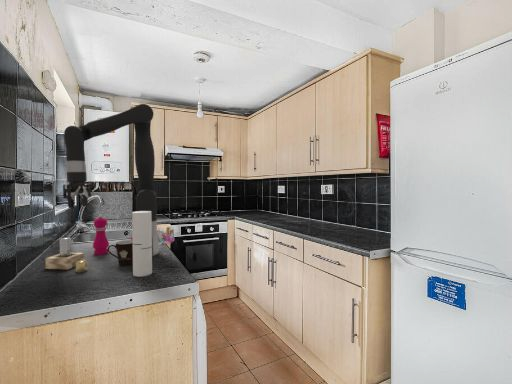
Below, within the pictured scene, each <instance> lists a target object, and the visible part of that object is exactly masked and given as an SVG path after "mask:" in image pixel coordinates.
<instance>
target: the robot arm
mask: <svg viewBox="0 0 512 384" xmlns="http://www.w3.org/2000/svg"><path fill="white" fill-rule="evenodd" d="M153 118H154V109H153V108H152V107H151V106H150V105H148V104H146V103H139V104H137V105H135V106H133V107H131V108H130V109H129V108H128V109H126V110H125V111H122V112H119V113H116V114H113V115H109V116H105V117H102V118H97V119H95V120H90V121H88V122H87V123H85V124H82V125H79V126H76V125H69V126H66V128H65V129H64V131H63V134H64V135H63V137H64V138H63V139H64V143H65V148H66V149H65V150H66V151H65V156H66V158H65V160H66V163H65V164H66V165H65V166H66V167H65V169H66V170H65V171H66V182H67V184H63V185H62V198H63V199H66V200H67V207H68V209H75V197H76V196H77V195H79V196H81V205H82V207H88V206H89V202H88V201H89V200H88V199H89V197H91V196H92V191H91V184H90V183H85V182H87V180H88V179H87V176H88V175H87V164H86V155H85V150H84V142H85V141H86V142H87V141H89V140H91V139H93V138H95V137H96V138H97V137H99V136H103V135H107V134H110V133H112V132H114V131H116V130H118V129H119V130H120V129H121V128H124V127H126V126H130V125H133V126H134V128H133V129H134V162H135V163H134V164H135V170H136V173H137V178H138V191H137V192H138V193H137V194H136V211H151V218H152V257H154V256H156V255H158V254H159V252H160V251H159V250H160V249H159V246H160V245H159V236H158V235H157V229H158V225H157V222H158V220H157V219H158V214H157V213H158V212H157V204H158V203H157V193H156V188H155V165H156V164H155V163H156V161H155V159H156V158H155V149H154V144H153V141H152V135H151V126H152V125H151V123H152V120H153Z"/></svg>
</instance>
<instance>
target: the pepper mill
mask: <svg viewBox="0 0 512 384" xmlns="http://www.w3.org/2000/svg"><path fill="white" fill-rule="evenodd" d="M107 224H108V221H107V219H106V218H104V217H103V215H102V214H99V215H98V217H97V218H96V219H95V220H94V221H93V226H94V227H95V228H94V231H95V232H96V233H95V237H94V241H93V243H92V248H93V249H94V252H93V254H94V255H96V256H101V255H106V254H108V253H109V252H108V247H109V246H110V244H109V240H108V238H107V236H106V235H107V234H106V230H107V227H106V226H107Z"/></svg>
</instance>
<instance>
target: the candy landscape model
mask: <svg viewBox="0 0 512 384" xmlns="http://www.w3.org/2000/svg"><path fill="white" fill-rule="evenodd" d="M174 230H175V229H174V228H173V229H171V227H170V226H166V231H164V230H163V229H161V228H158V227H157V235H158V236H159V246H161V245H166V244H171V243H173V242H175V232H174ZM130 240H133V235H131V236H130Z"/></svg>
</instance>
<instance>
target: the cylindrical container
mask: <svg viewBox="0 0 512 384" xmlns="http://www.w3.org/2000/svg"><path fill="white" fill-rule="evenodd" d="M131 214H132V215H131V218H132V219H131V221H132V222H131V224H132V225H131V226H132V228H131V229H132V235H131V236H133V265H132V276H133V277H146V276H150V275H152V274H153V256H152V218H151V211H137V210H136V211H132V213H131Z"/></svg>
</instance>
